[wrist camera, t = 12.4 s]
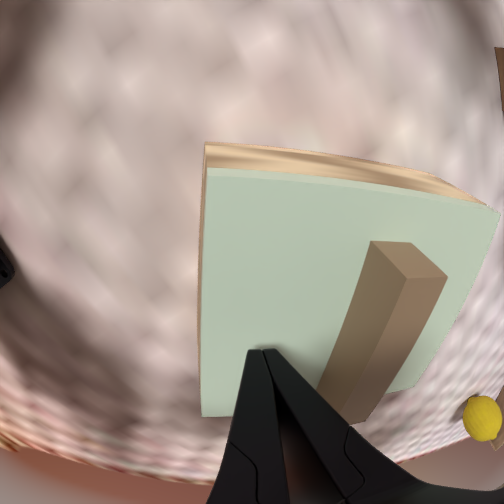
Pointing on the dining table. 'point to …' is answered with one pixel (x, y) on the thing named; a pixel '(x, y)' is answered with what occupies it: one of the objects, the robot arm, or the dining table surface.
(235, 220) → the lid
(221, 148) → the open wooden box
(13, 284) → the dining table surface
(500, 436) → the bread crate
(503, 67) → the tan rectangular bar
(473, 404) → the lemon
